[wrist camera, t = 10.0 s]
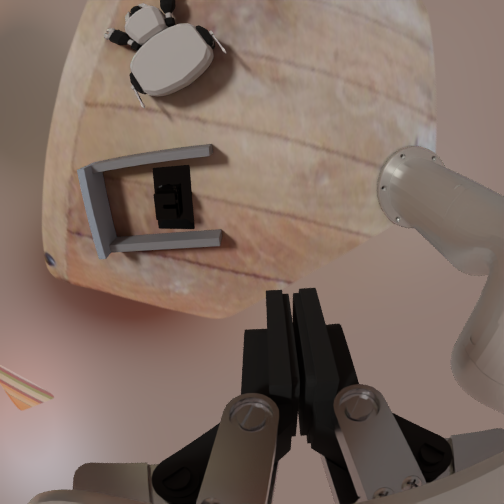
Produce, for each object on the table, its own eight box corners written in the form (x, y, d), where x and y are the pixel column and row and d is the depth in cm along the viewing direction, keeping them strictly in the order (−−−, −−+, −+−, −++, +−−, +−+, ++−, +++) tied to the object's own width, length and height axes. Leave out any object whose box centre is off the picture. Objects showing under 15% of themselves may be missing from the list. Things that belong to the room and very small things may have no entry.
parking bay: (212, 143, 38) (205, 148, 33) (222, 236, 44) (218, 252, 40) (94, 162, 39) (77, 169, 34) (112, 244, 45) (99, 259, 40)
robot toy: (108, 39, 31) (156, 112, 36) (93, 33, 27) (142, 111, 32) (178, -11, 28) (233, 61, 33) (168, -23, 24) (228, 53, 29)
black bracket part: (200, 235, 45) (194, 250, 41) (155, 236, 45) (145, 249, 41) (195, 153, 39) (187, 159, 35) (145, 156, 39) (133, 163, 35)
